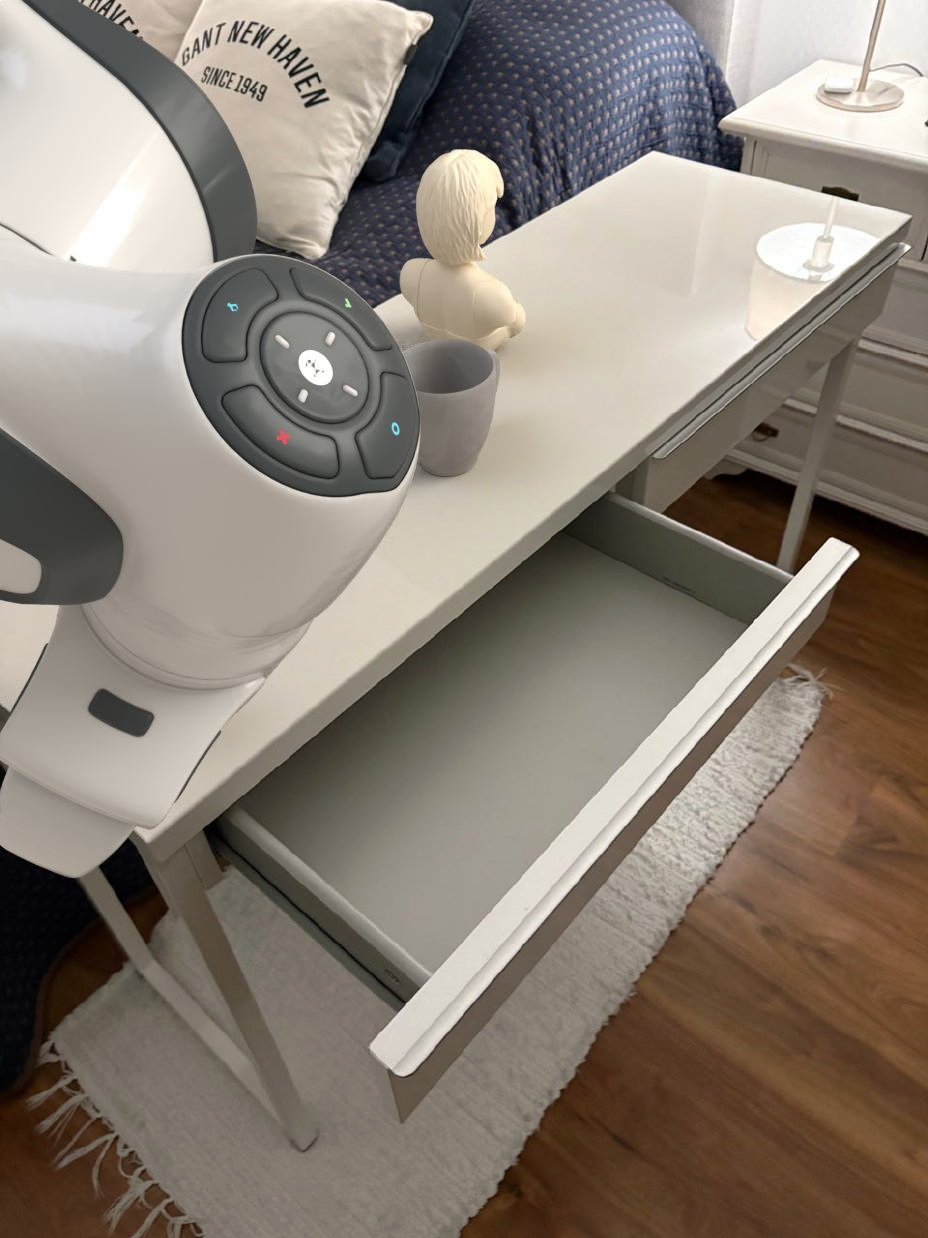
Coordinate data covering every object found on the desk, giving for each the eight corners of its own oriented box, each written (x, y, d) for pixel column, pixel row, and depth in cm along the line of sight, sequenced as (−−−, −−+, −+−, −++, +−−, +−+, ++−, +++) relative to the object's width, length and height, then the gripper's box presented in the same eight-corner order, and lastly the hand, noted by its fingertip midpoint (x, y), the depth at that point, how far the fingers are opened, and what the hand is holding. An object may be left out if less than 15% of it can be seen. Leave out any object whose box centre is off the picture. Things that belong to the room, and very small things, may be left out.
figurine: (547, 349, 100) (554, 148, 86) (496, 391, 95) (494, 186, 81) (443, 313, 106) (433, 120, 91) (390, 352, 101) (370, 153, 86)
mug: (458, 501, 84) (454, 407, 77) (380, 466, 87) (369, 373, 80) (534, 433, 90) (537, 340, 83) (458, 403, 94) (455, 312, 87)
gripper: (232, 377, 43) (172, 516, 54) (-35, 787, 32) (-40, 853, 44) (356, 452, 44) (272, 572, 56) (139, 867, 34) (91, 911, 45)
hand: (133, 698), depth 50 cm, fingers open, 8 cm apart
